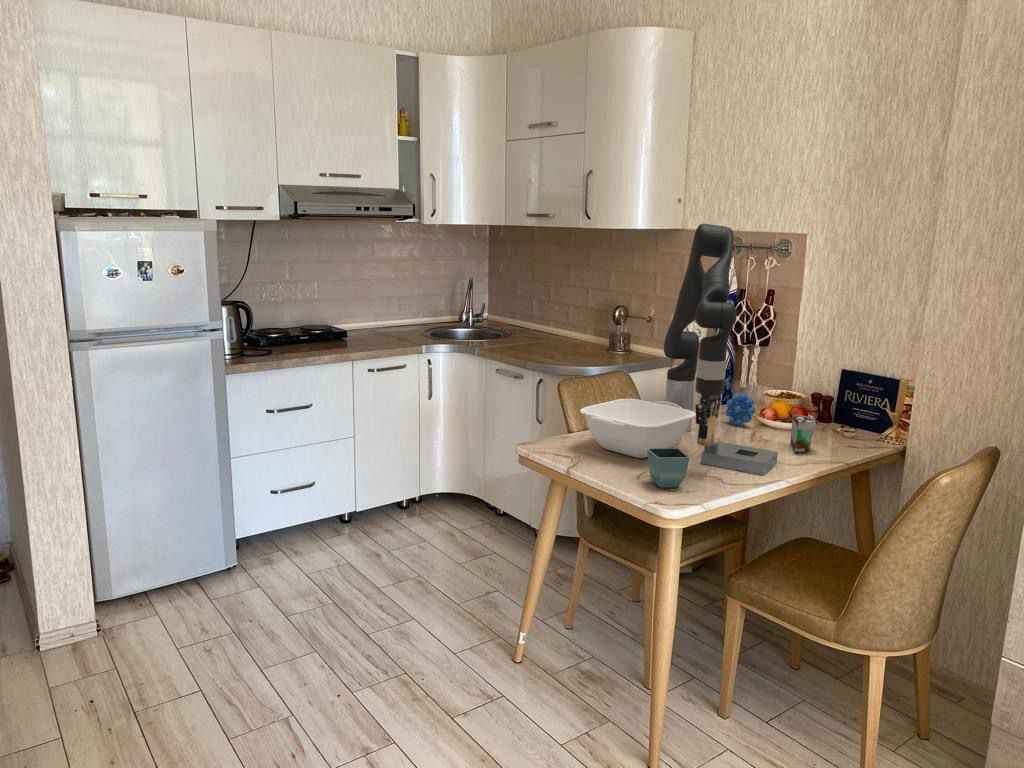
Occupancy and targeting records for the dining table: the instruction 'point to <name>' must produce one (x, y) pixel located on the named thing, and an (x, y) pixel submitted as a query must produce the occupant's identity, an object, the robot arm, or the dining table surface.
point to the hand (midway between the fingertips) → (705, 435)
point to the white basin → (636, 425)
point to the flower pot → (667, 466)
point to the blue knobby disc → (740, 409)
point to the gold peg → (708, 433)
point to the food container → (801, 433)
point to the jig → (739, 457)
